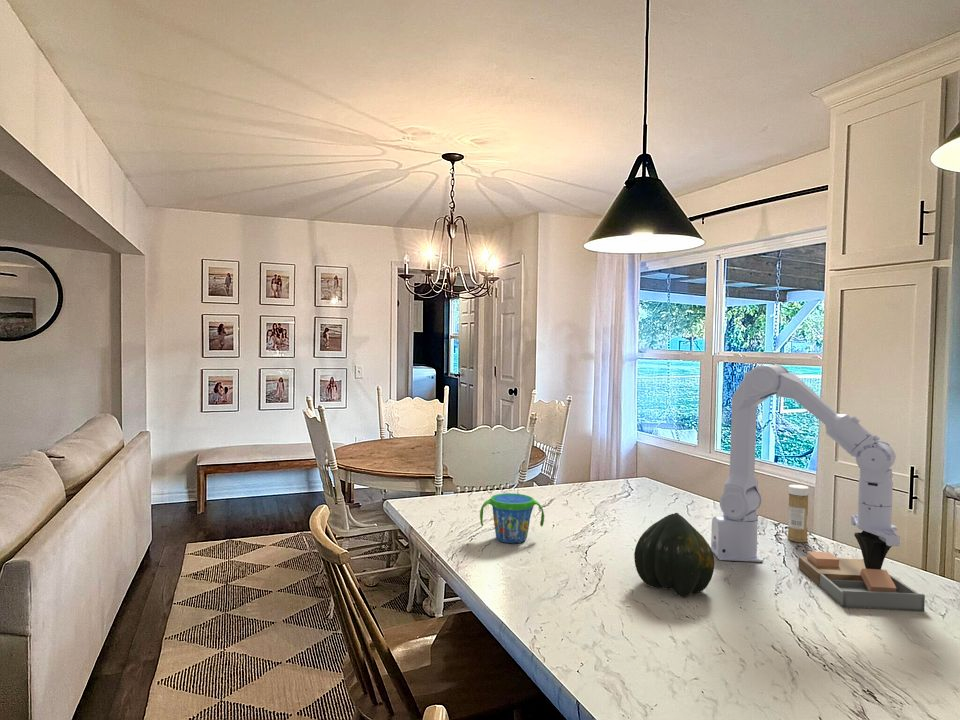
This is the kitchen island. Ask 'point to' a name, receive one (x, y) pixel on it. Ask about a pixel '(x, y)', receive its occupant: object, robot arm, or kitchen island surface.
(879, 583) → the tile right
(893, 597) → the tray
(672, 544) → the squash
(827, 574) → the walnut board
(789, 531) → the sprinkles bottle
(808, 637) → the kitchen island surface
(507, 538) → the snack cup
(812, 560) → the tile left
